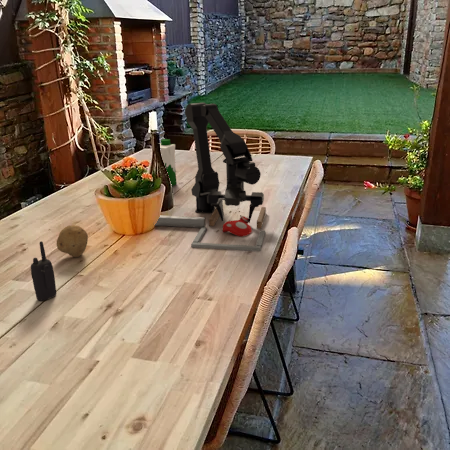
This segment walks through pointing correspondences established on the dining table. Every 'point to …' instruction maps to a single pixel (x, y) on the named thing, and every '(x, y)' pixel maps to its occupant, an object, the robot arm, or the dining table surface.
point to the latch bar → (181, 221)
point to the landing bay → (227, 246)
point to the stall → (259, 220)
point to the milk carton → (169, 159)
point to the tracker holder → (238, 227)
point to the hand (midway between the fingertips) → (236, 221)
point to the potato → (72, 240)
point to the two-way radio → (43, 277)
